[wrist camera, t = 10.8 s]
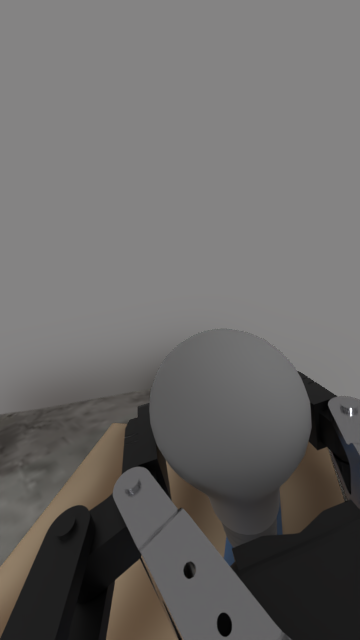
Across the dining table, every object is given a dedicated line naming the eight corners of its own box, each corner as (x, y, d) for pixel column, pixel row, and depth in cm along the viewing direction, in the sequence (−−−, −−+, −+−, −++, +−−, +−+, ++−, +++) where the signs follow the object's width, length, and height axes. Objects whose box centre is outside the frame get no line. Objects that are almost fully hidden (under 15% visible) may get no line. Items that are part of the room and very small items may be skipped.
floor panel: (-70, 694, 11) (-90, 676, 10) (117, 433, 25) (112, 421, 25) (595, 1372, 3) (635, 1424, 3) (325, 454, 18) (324, 437, 17)
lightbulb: (198, 477, 15) (156, 322, 12) (298, 477, 13) (278, 300, 10) (183, 622, 9) (95, 392, 6) (355, 649, 8) (346, 366, 5)
